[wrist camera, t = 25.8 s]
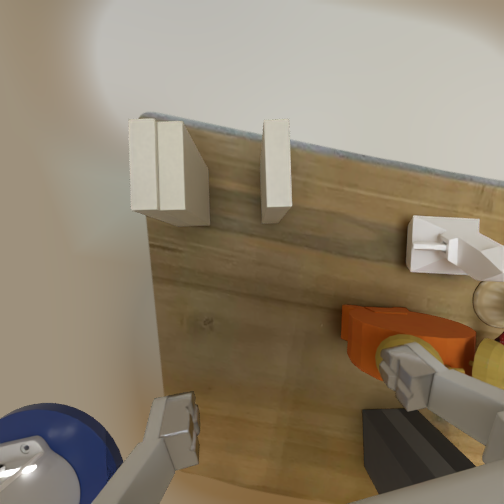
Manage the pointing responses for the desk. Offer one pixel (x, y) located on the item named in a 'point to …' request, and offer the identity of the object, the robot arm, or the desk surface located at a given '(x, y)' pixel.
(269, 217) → the white book
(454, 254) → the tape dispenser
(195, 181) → the white books
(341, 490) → the desk surface
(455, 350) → the alarm clock
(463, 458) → the grey books
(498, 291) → the hand bell
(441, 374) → the robot arm
